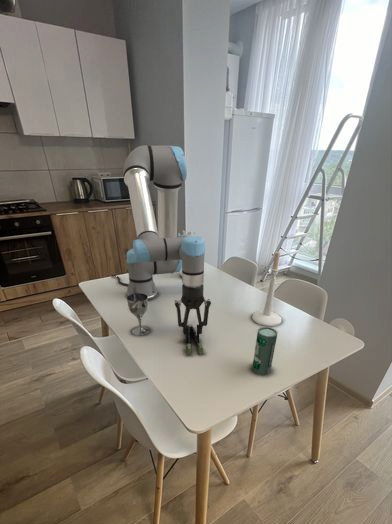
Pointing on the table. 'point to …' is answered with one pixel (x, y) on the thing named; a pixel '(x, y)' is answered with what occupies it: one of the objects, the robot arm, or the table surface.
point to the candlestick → (269, 300)
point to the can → (264, 350)
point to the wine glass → (138, 310)
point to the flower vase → (186, 235)
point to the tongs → (200, 347)
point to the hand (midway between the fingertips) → (192, 340)
